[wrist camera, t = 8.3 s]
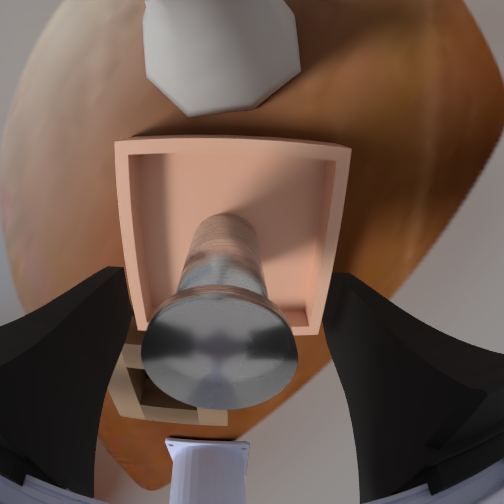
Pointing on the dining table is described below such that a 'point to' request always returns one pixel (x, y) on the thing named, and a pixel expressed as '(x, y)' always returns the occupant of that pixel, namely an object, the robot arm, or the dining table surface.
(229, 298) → the pin
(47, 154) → the dining table surface
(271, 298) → the tray
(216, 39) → the flask
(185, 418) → the brown square frame
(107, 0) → the dining table surface
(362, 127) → the dining table surface
